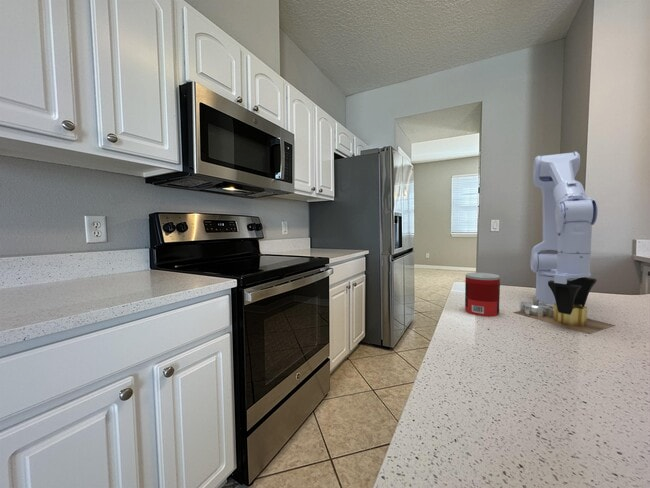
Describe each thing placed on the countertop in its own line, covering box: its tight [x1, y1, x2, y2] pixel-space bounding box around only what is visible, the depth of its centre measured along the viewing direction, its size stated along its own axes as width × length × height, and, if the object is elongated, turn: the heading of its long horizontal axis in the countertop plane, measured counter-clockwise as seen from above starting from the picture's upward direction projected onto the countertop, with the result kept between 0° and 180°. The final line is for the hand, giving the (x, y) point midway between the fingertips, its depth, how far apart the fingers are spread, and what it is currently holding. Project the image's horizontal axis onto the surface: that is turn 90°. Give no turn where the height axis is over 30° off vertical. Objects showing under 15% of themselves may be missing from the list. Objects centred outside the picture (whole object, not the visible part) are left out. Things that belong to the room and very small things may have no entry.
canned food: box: [464, 272, 501, 318], centre depth 74 cm, size 8×8×11 cm
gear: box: [518, 300, 554, 318], centre depth 73 cm, size 7×7×2 cm
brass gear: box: [553, 303, 588, 327], centre depth 66 cm, size 6×6×4 cm
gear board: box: [512, 298, 616, 335], centre depth 68 cm, size 11×16×4 cm
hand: (571, 310), depth 65 cm, fingers open, 7 cm apart
